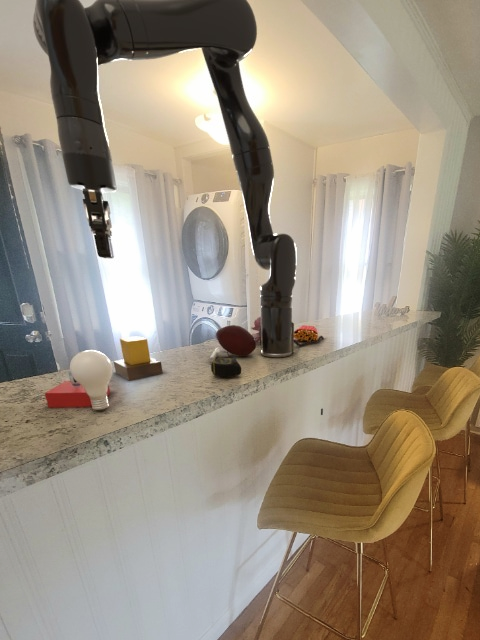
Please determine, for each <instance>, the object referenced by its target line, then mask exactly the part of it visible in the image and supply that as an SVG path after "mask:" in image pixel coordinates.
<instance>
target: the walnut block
mask: <svg viewBox="0 0 480 640" xmlns="http://www.w3.org/2000/svg"><path fill="white" fill-rule="evenodd" d="M113 368H114V372H115V374H116V375H118V376H120V377H122V378H123V379H126V380H127V381H134V380H135V381H136V380H139V379H144V378H148V377H153V376H157V375H162V374H164V373H163V366H162V361H160V360H159V359H155V358H153V357H151V356H150V362H146V363H140V364H135V365H131V364H129V363H127V362H124V359H119V360H114V361H113Z"/></svg>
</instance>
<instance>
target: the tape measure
mask: <svg viewBox="0 0 480 640" xmlns="http://www.w3.org/2000/svg"><path fill="white" fill-rule="evenodd" d="M210 372H211V373H212V375H214V376H216V377H219V378H229V377H235V376H239V375H241V374H242V367H241V365H240V363H239V361H238V360H237V359H236V358H235V357H232V358H229V357H218V358H216V359H215V360H213V361H212V362H210Z"/></svg>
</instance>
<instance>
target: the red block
mask: <svg viewBox="0 0 480 640" xmlns="http://www.w3.org/2000/svg"><path fill="white" fill-rule="evenodd" d="M68 379H69V380H64V381H63V382H61V383H59V384H57V385H56V386H54V387H53V388H50V389H49V390H47V391H46V392H44V396H45V400H46V403H47V406H48V408H75V407H76V408H81V407H83V408H84V407H85V408H86V407H87V408H88V407H92V404H91V401H90V400H91V399H90V397H89V395H88V394H87V393H86V391H85V389H84V388H83V387H82V386H81V385H80V384H79V383H78V382H77V381H76V380H75V379H74V378H73V377H72V375H71V373H70V371H69V372H68ZM110 394H111V390H110V385H109V383H108V390H107V397H108V396H109V395H110Z"/></svg>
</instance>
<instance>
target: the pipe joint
mask: <svg viewBox="0 0 480 640" xmlns="http://www.w3.org/2000/svg"><path fill="white" fill-rule="evenodd" d="M217 358H229V352H227V351H221V348H220V347H219V346H218V347H216V348H215V349H214V351H213V352H212V353H211V354H210V357H208V361H209V363H212V361H213V360H215V359H217Z"/></svg>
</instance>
